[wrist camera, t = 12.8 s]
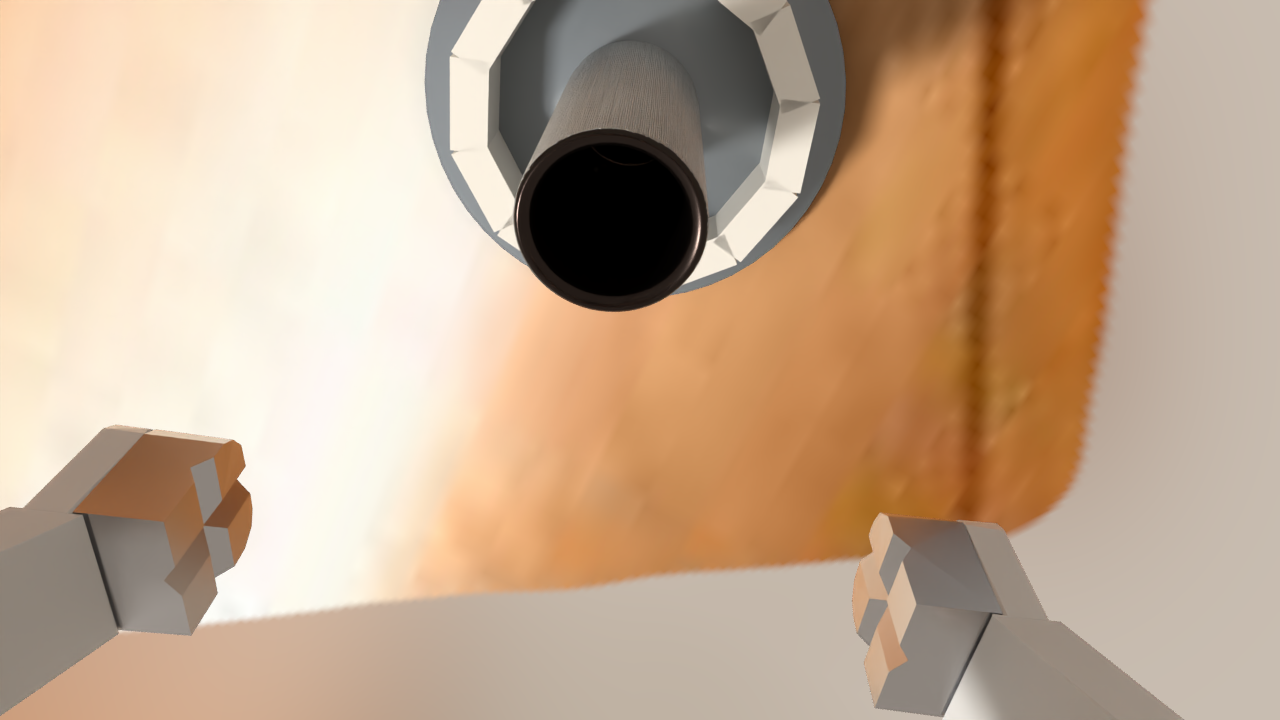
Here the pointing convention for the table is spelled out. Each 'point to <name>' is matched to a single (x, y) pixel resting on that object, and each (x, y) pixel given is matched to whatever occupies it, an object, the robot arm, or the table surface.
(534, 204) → the grey cylinder
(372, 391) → the table surface
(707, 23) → the ring dish
